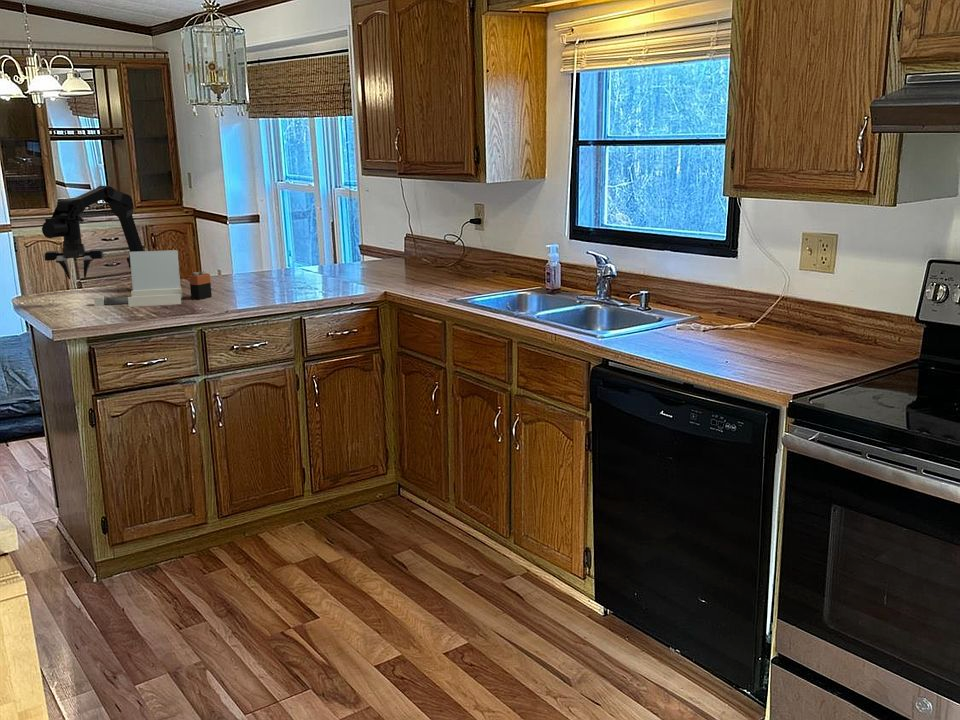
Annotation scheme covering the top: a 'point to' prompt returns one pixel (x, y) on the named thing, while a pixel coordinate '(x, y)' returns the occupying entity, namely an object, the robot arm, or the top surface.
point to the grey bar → (109, 301)
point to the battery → (200, 285)
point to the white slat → (155, 297)
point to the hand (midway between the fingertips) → (77, 278)
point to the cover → (155, 270)
